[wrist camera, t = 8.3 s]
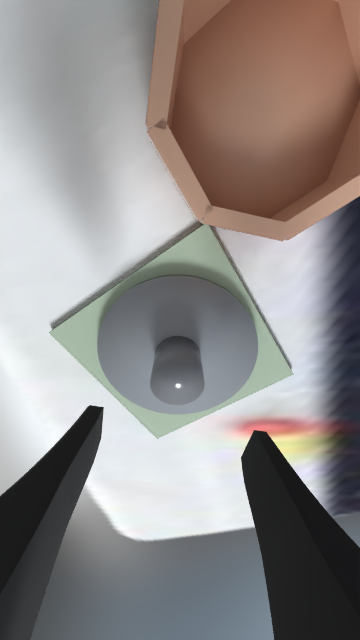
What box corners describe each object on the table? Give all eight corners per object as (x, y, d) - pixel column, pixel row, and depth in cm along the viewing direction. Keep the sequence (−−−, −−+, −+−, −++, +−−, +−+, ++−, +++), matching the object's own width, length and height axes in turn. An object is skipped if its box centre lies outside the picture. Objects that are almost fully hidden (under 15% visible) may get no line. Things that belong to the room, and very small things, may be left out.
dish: (319, -104, 9) (392, -271, 6) (383, 157, 12) (450, 139, 9) (117, 88, 11) (94, 41, 8) (220, 262, 15) (230, 275, 12)
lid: (203, 238, 14) (211, 246, 10) (279, 367, 18) (303, 404, 14) (67, 330, 16) (37, 362, 13) (160, 425, 20) (156, 469, 17)
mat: (206, 222, 14) (207, 222, 13) (291, 371, 18) (293, 374, 18) (51, 330, 17) (48, 332, 16) (157, 434, 21) (157, 438, 21)
